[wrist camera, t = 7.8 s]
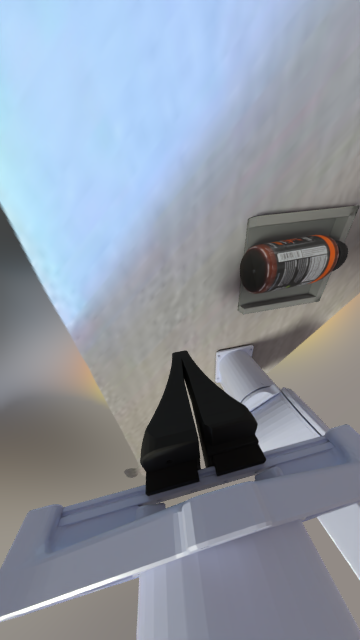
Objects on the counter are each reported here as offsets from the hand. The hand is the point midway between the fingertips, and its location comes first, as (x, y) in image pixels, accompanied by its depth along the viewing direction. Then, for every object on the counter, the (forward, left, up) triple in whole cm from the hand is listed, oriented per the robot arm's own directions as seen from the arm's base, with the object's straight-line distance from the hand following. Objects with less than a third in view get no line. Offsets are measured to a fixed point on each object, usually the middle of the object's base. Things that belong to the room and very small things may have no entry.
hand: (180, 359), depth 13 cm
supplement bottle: (+6, -11, -7) cm, 14 cm away
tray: (+5, -19, -10) cm, 22 cm away
